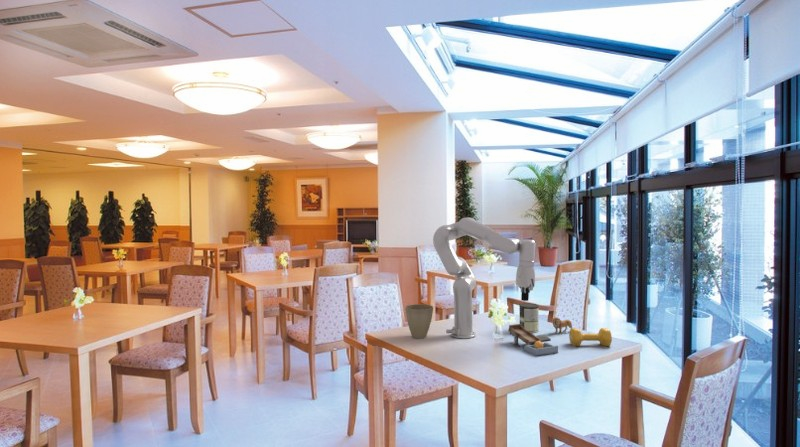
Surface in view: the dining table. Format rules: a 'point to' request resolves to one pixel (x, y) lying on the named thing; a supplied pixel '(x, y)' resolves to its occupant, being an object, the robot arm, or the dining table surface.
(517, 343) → the lever stand
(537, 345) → the ball
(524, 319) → the coffee can
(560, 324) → the lion figurine
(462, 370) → the dining table surface
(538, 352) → the tray
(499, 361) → the dining table surface
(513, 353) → the dining table surface
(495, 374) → the dining table surface
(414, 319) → the plant pot
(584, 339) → the dumbbell
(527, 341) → the brown tilting tray
